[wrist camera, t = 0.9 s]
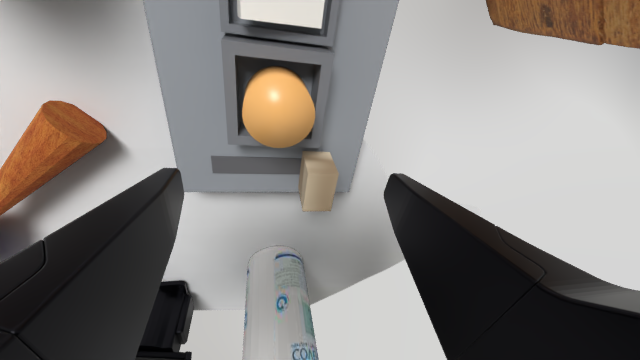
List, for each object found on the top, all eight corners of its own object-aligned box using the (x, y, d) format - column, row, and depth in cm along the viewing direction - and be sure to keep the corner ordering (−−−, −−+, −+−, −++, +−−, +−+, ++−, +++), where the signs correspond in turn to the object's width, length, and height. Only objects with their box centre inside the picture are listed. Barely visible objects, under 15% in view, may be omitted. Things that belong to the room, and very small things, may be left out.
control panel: (189, 172, 21) (174, 210, 18) (145, -82, 13) (99, -109, 9) (341, 175, 24) (355, 207, 21) (388, -30, 16) (426, -35, 12)
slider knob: (298, 187, 20) (302, 211, 18) (302, 151, 18) (308, 173, 16) (323, 187, 21) (330, 210, 19) (329, 152, 19) (338, 173, 17)
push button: (245, 126, 16) (243, 146, 14) (244, 62, 14) (240, 75, 12) (304, 129, 16) (310, 149, 14) (311, 69, 14) (319, 82, 12)
